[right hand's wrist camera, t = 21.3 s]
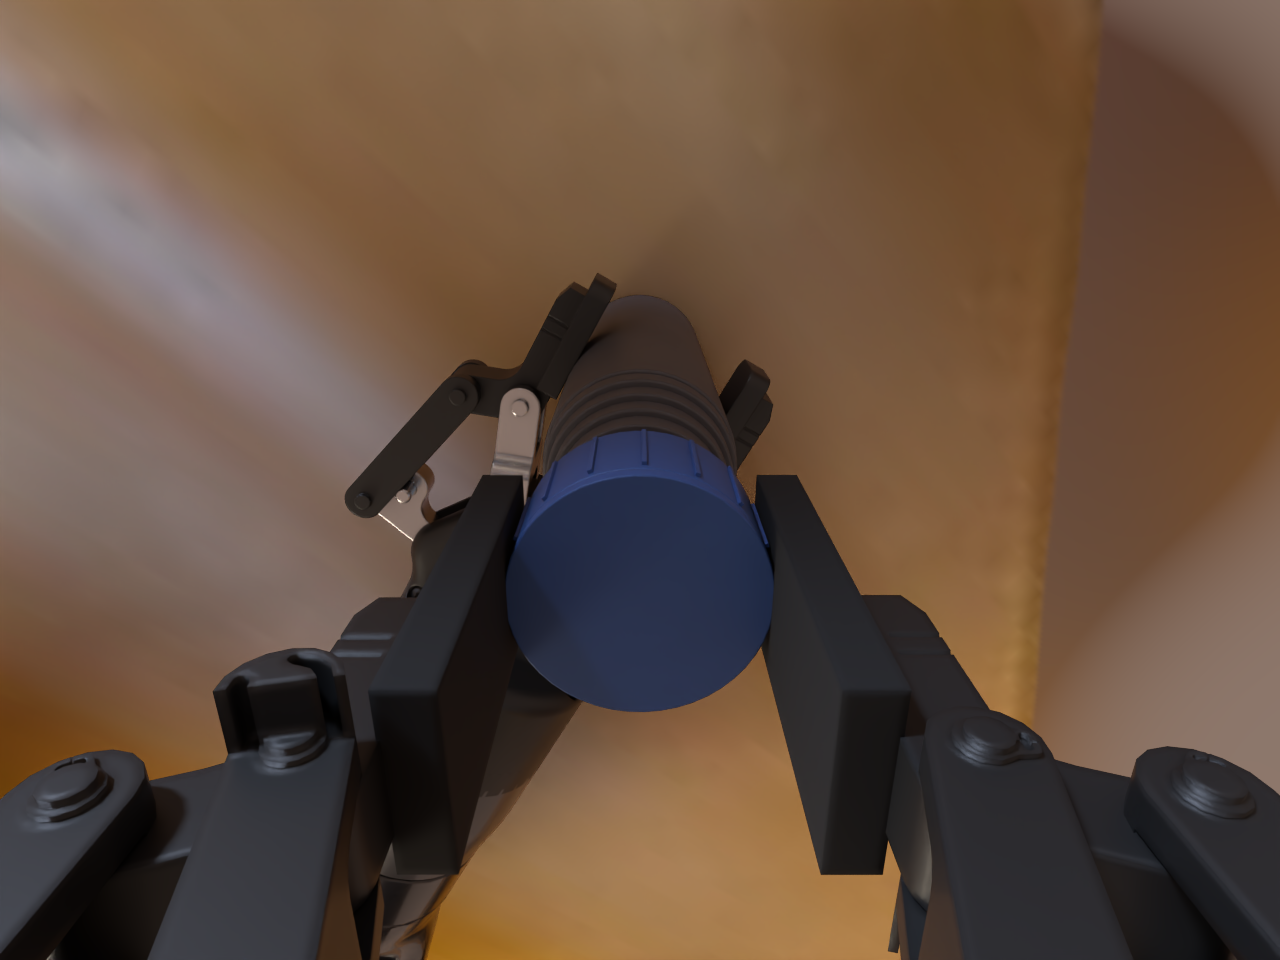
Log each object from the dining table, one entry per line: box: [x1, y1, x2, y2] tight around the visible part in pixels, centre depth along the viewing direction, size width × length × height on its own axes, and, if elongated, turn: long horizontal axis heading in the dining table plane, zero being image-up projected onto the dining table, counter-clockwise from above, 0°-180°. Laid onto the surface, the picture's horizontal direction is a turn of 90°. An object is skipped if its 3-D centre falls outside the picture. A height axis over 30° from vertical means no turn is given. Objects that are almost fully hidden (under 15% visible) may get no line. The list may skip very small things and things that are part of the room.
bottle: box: [543, 295, 737, 477], centre depth 22 cm, size 5×5×18 cm
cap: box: [505, 429, 774, 712], centre depth 14 cm, size 4×4×2 cm
